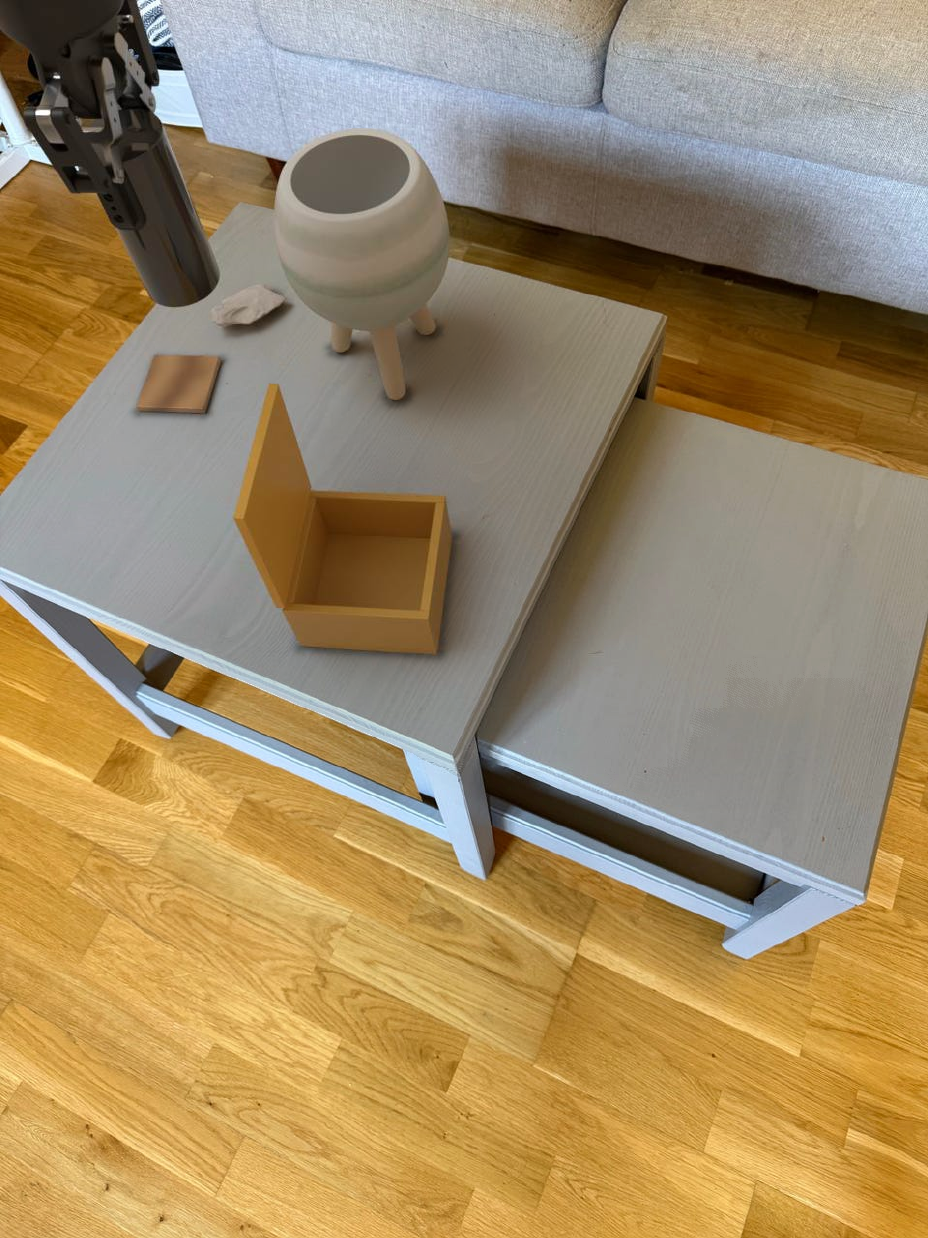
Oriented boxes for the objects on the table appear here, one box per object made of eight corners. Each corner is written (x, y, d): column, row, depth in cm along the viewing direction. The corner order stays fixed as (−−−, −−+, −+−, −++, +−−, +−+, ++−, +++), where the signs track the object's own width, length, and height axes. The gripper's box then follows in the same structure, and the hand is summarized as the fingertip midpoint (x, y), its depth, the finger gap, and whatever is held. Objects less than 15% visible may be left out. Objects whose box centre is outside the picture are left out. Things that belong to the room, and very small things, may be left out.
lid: (278, 383, 70) (268, 382, 70) (243, 518, 64) (232, 518, 64) (312, 486, 82) (303, 486, 82) (285, 608, 76) (275, 608, 76)
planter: (409, 436, 93) (373, 259, 73) (286, 381, 98) (221, 201, 78) (490, 333, 99) (476, 143, 79) (369, 286, 104) (328, 96, 84)
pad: (138, 411, 98) (135, 406, 97) (156, 359, 101) (154, 354, 100) (205, 413, 97) (202, 408, 96) (221, 360, 100) (219, 355, 99)
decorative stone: (227, 347, 101) (218, 326, 98) (206, 317, 103) (197, 296, 101) (295, 312, 103) (288, 292, 100) (272, 284, 105) (265, 263, 103)
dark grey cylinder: (137, 306, 69) (63, 163, 58) (158, 253, 72) (91, 107, 61) (209, 308, 68) (148, 164, 58) (228, 255, 71) (172, 107, 60)
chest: (452, 536, 87) (445, 495, 81) (436, 654, 81) (428, 619, 75) (324, 530, 88) (308, 489, 82) (300, 646, 83) (281, 611, 77)
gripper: (5, -145, 52) (124, 130, 67) (-94, -4, 46) (62, 266, 61) (128, -149, 51) (221, 130, 66) (44, -6, 45) (168, 268, 60)
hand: (144, 194), depth 63 cm, fingers closed on dark grey cylinder, 6 cm apart
